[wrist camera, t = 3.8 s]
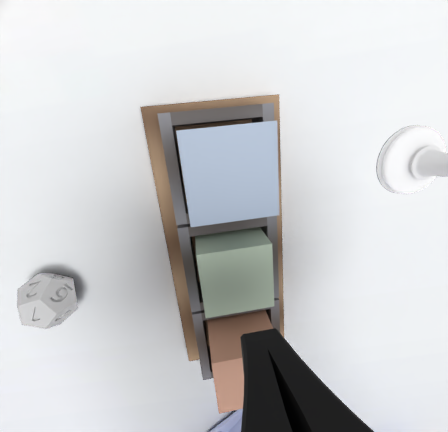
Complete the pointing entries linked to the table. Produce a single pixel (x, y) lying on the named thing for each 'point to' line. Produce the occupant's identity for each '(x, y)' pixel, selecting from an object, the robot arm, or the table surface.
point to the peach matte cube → (231, 355)
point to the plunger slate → (230, 172)
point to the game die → (46, 300)
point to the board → (179, 216)
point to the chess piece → (412, 159)
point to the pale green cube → (235, 271)
